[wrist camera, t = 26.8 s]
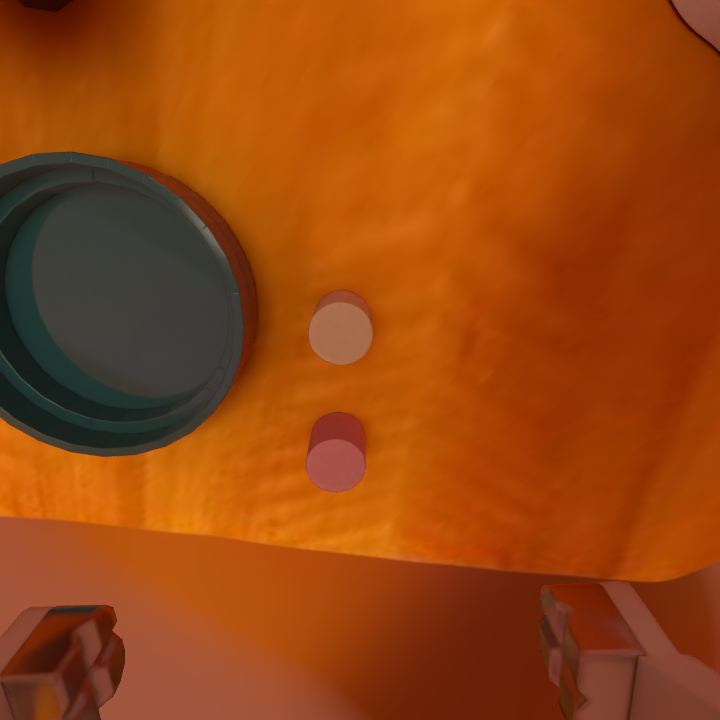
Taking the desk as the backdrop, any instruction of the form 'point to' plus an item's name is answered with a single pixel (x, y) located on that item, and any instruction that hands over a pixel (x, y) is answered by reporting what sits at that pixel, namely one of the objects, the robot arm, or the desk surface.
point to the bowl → (115, 304)
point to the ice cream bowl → (45, 4)
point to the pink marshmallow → (336, 453)
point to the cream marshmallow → (341, 328)
